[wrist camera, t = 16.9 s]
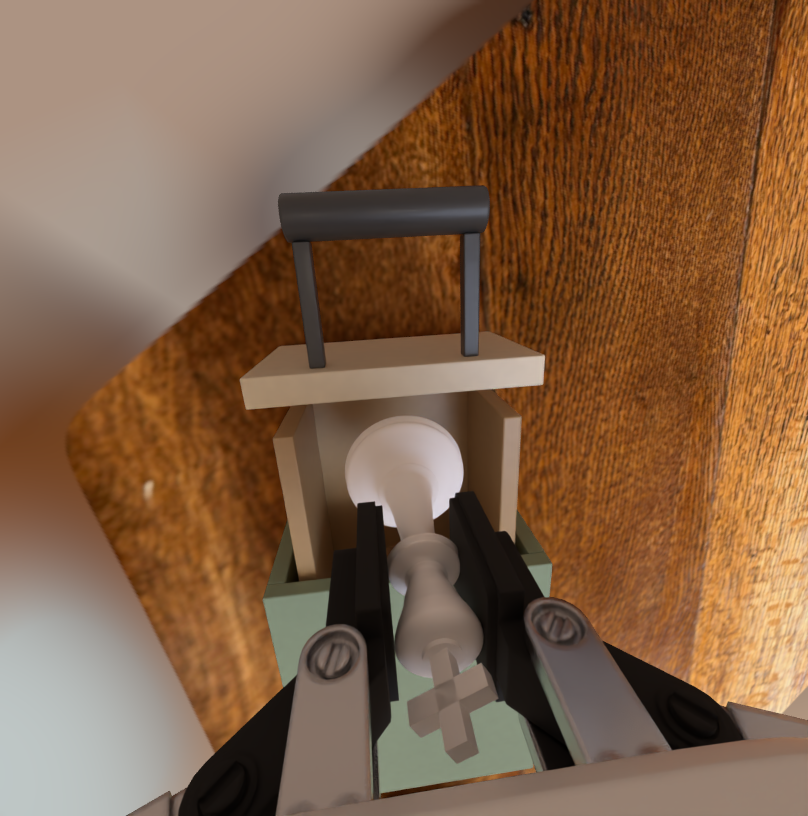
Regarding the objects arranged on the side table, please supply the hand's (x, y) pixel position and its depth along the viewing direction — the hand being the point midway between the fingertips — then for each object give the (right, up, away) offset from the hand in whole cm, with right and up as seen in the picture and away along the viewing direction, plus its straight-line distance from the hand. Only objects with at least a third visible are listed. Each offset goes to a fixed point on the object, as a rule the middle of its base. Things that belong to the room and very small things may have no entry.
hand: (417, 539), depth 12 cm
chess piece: (0, +1, +4) cm, 5 cm away
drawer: (-1, +4, +10) cm, 11 cm away
